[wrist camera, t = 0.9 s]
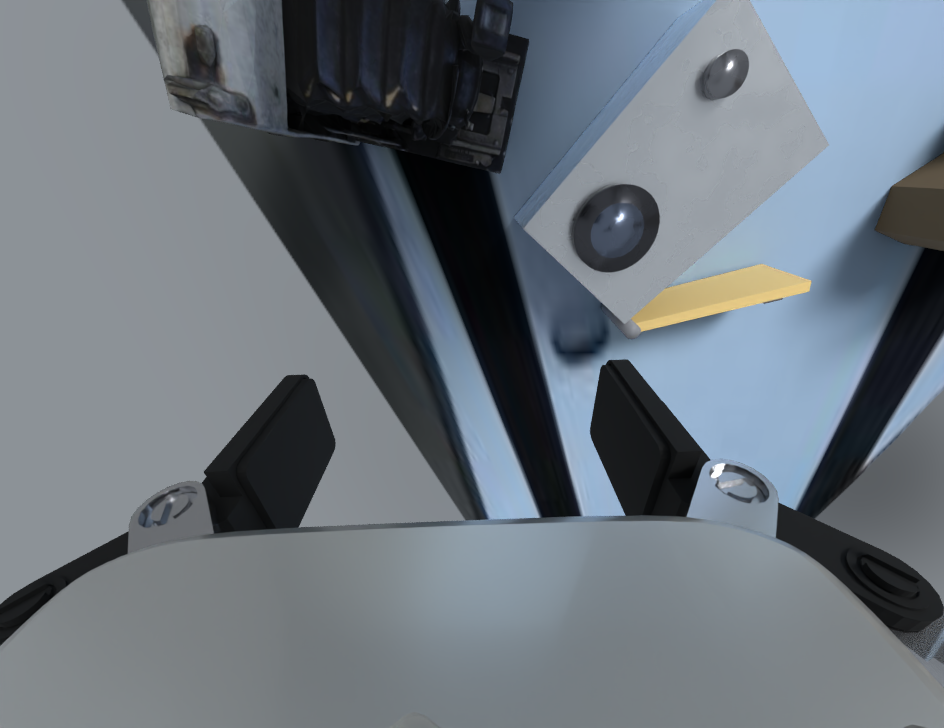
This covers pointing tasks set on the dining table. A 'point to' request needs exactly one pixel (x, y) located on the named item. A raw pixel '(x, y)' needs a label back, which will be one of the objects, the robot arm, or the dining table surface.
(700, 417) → the dining table surface
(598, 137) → the aluminium camera mock-up
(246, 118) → the vintage camera
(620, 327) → the ochre side door
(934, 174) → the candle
